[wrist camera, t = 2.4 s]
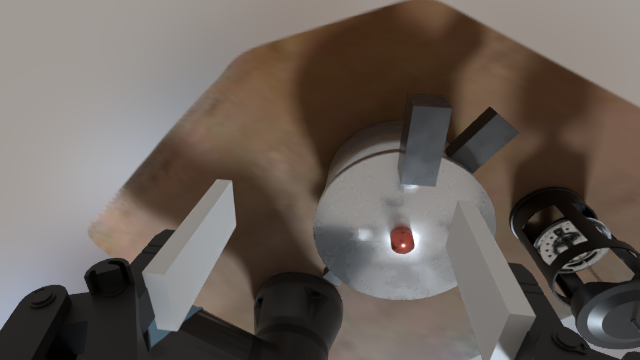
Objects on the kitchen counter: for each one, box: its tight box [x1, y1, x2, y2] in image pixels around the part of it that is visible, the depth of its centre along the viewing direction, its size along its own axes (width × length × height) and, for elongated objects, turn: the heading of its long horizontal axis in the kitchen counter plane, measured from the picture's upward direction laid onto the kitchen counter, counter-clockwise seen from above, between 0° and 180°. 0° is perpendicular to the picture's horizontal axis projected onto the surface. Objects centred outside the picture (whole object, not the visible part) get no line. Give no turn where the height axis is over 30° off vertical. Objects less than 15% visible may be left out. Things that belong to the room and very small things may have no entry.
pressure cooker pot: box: [323, 107, 519, 286], centre depth 42 cm, size 28×18×10 cm, turn 143°
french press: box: [510, 187, 640, 349], centre depth 37 cm, size 12×9×23 cm
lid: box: [313, 94, 496, 300], centre depth 35 cm, size 24×19×5 cm
